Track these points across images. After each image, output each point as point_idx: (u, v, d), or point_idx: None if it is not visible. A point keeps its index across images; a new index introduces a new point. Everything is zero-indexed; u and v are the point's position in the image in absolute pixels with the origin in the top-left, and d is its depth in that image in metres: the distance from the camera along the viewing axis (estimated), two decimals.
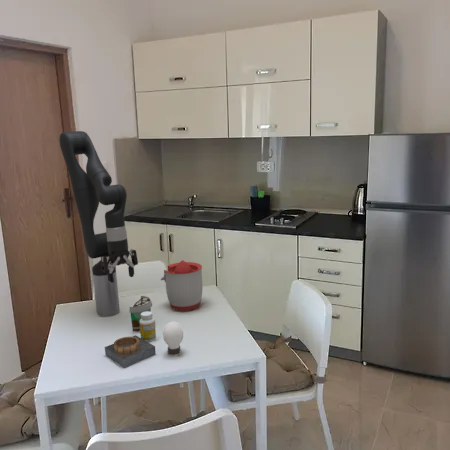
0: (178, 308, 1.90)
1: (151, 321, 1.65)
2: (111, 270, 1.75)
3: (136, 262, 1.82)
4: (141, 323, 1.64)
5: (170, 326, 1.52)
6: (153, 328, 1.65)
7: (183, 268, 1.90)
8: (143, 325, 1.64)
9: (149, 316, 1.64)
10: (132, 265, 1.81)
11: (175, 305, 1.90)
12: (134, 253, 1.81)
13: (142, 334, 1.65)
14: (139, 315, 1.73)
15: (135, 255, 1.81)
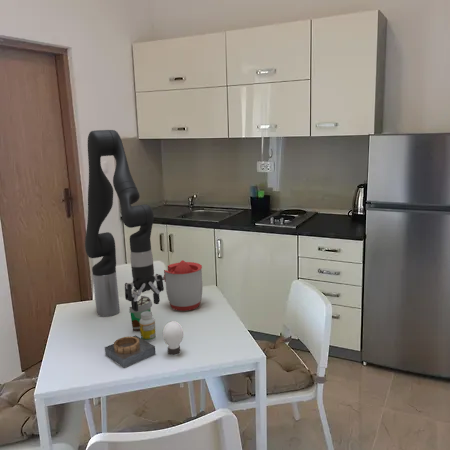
0: (178, 308, 1.90)
1: (151, 321, 1.65)
2: (136, 298, 1.60)
3: (162, 288, 1.67)
4: (141, 323, 1.64)
5: (170, 326, 1.52)
6: (153, 328, 1.65)
7: (183, 268, 1.90)
8: (143, 325, 1.64)
9: (149, 316, 1.64)
10: (158, 291, 1.66)
11: (175, 305, 1.90)
12: (160, 279, 1.66)
13: (142, 334, 1.65)
14: (139, 315, 1.73)
15: (161, 281, 1.67)
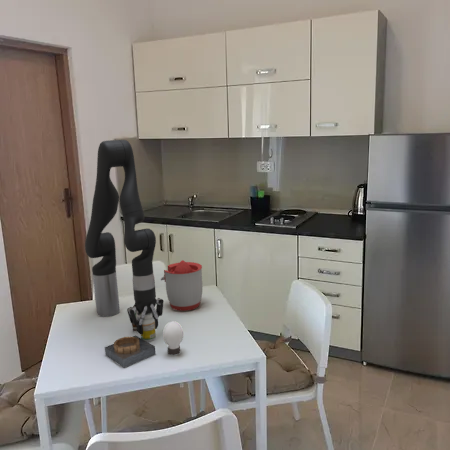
0: (178, 308, 1.90)
1: (151, 321, 1.65)
2: (141, 321, 1.63)
3: (160, 313, 1.68)
4: None
5: (170, 326, 1.52)
6: (153, 328, 1.65)
7: (183, 268, 1.90)
8: (143, 325, 1.64)
9: (149, 316, 1.64)
10: (156, 316, 1.67)
11: (175, 305, 1.90)
12: (161, 303, 1.68)
13: (142, 334, 1.65)
14: None
15: (161, 305, 1.68)
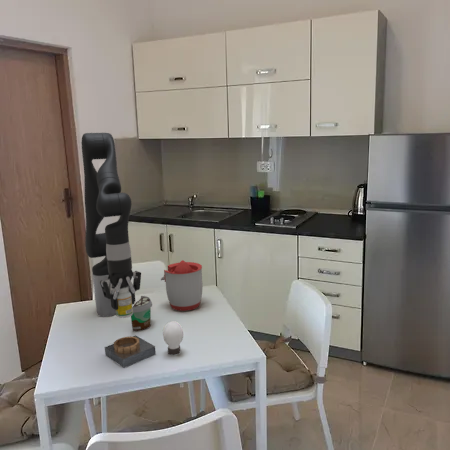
0: (178, 308, 1.90)
1: (127, 295, 1.49)
2: (115, 295, 1.48)
3: (138, 287, 1.53)
4: None
5: (170, 326, 1.52)
6: (129, 303, 1.50)
7: (183, 268, 1.90)
8: (118, 300, 1.49)
9: (125, 290, 1.49)
10: (133, 290, 1.52)
11: (175, 305, 1.90)
12: (139, 276, 1.53)
13: (117, 310, 1.50)
14: (139, 315, 1.73)
15: (139, 278, 1.53)
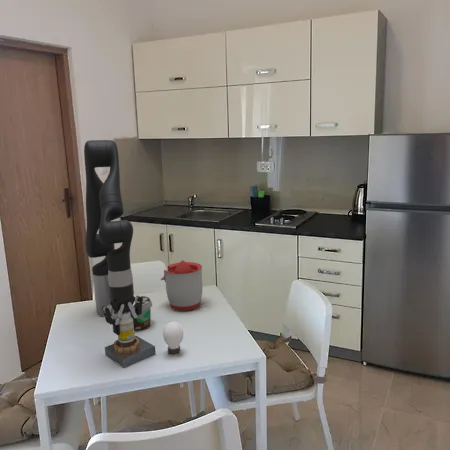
0: (178, 308, 1.90)
1: (129, 320, 1.51)
2: (117, 321, 1.50)
3: (139, 312, 1.55)
4: (118, 323, 1.51)
5: (170, 326, 1.52)
6: (131, 328, 1.52)
7: (183, 268, 1.90)
8: (120, 325, 1.51)
9: (127, 315, 1.51)
10: (135, 315, 1.54)
11: (175, 305, 1.90)
12: (140, 301, 1.55)
13: (119, 335, 1.52)
14: (139, 315, 1.73)
15: (141, 303, 1.55)
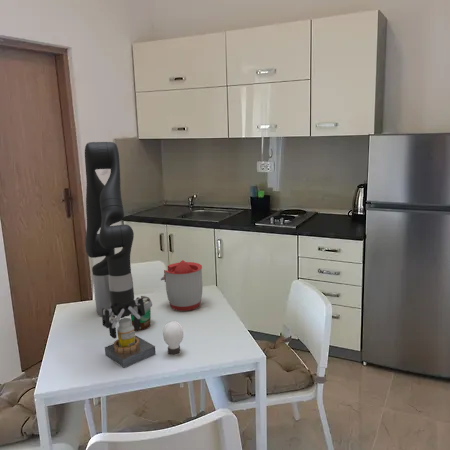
0: (178, 308, 1.90)
1: (130, 329, 1.52)
2: (114, 324, 1.49)
3: (143, 313, 1.56)
4: (119, 331, 1.52)
5: (170, 326, 1.52)
6: (132, 336, 1.53)
7: (183, 268, 1.90)
8: (120, 333, 1.51)
9: (127, 323, 1.52)
10: (138, 316, 1.55)
11: (175, 305, 1.90)
12: (141, 303, 1.55)
13: (120, 343, 1.52)
14: None
15: (142, 305, 1.55)
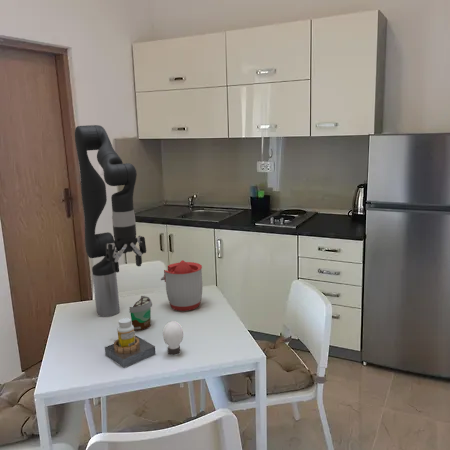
0: (178, 308, 1.90)
1: (130, 329, 1.52)
2: (117, 259, 1.57)
3: (144, 250, 1.64)
4: (119, 331, 1.52)
5: (170, 326, 1.52)
6: (132, 336, 1.53)
7: (183, 268, 1.90)
8: (120, 333, 1.51)
9: (127, 323, 1.52)
10: (140, 253, 1.63)
11: (175, 305, 1.90)
12: (143, 240, 1.63)
13: (120, 343, 1.52)
14: (139, 315, 1.73)
15: (143, 242, 1.63)
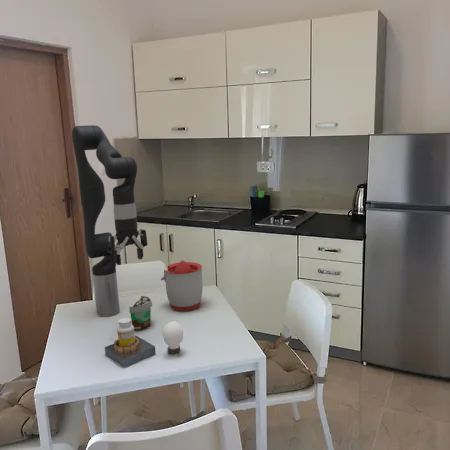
0: (178, 308, 1.90)
1: (130, 329, 1.52)
2: (118, 251, 1.59)
3: (146, 243, 1.66)
4: (119, 331, 1.52)
5: (170, 326, 1.52)
6: (132, 336, 1.53)
7: (183, 268, 1.90)
8: (120, 333, 1.51)
9: (127, 323, 1.52)
10: (141, 246, 1.65)
11: (175, 305, 1.90)
12: (144, 233, 1.65)
13: (120, 343, 1.52)
14: (139, 315, 1.73)
15: (145, 235, 1.66)
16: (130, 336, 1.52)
